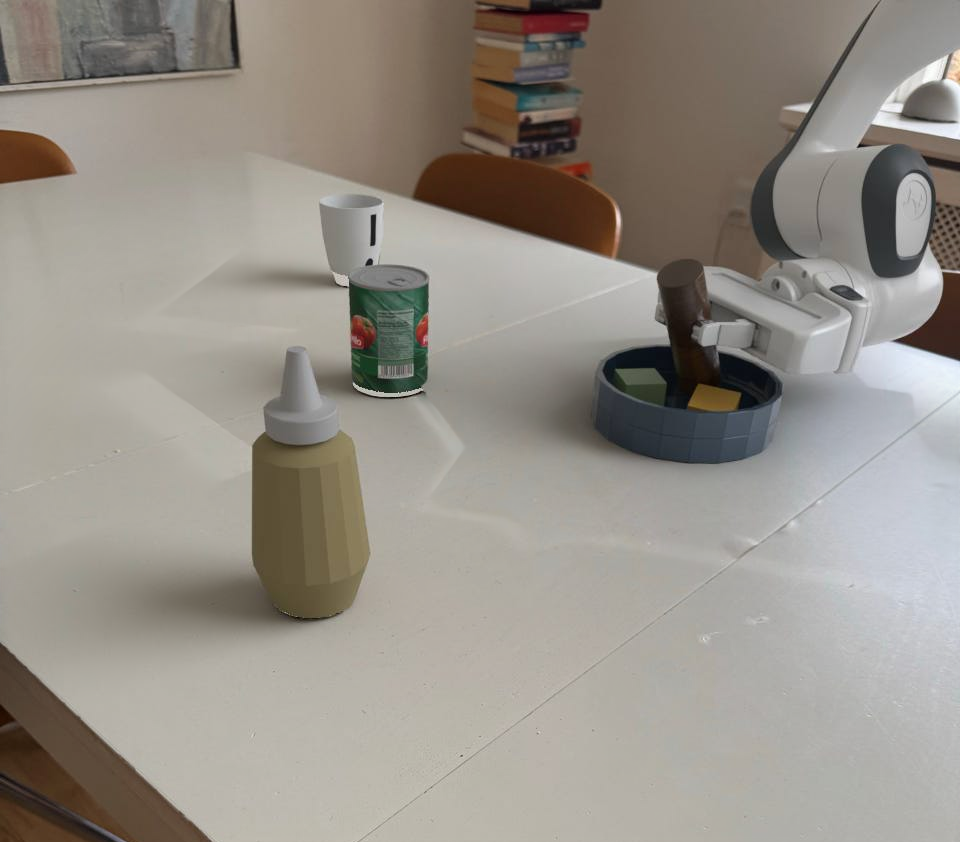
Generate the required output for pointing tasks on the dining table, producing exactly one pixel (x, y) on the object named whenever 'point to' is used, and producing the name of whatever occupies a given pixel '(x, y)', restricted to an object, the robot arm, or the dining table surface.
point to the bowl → (685, 430)
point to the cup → (351, 230)
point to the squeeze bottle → (307, 500)
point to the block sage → (641, 384)
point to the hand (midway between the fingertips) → (678, 324)
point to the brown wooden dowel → (688, 323)
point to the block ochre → (713, 399)
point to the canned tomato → (389, 327)
